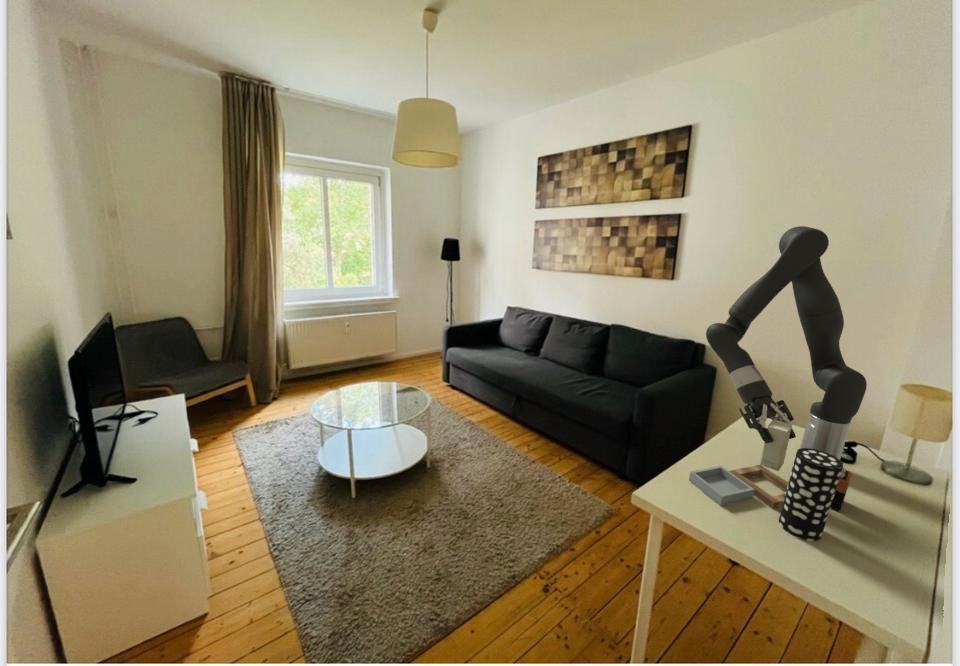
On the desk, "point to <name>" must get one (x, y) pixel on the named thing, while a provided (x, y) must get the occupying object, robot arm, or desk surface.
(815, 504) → the white-spotted black cylinder
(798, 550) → the desk surface
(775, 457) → the skincare box
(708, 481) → the tray
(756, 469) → the brown flat rectangular frame
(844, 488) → the battery
